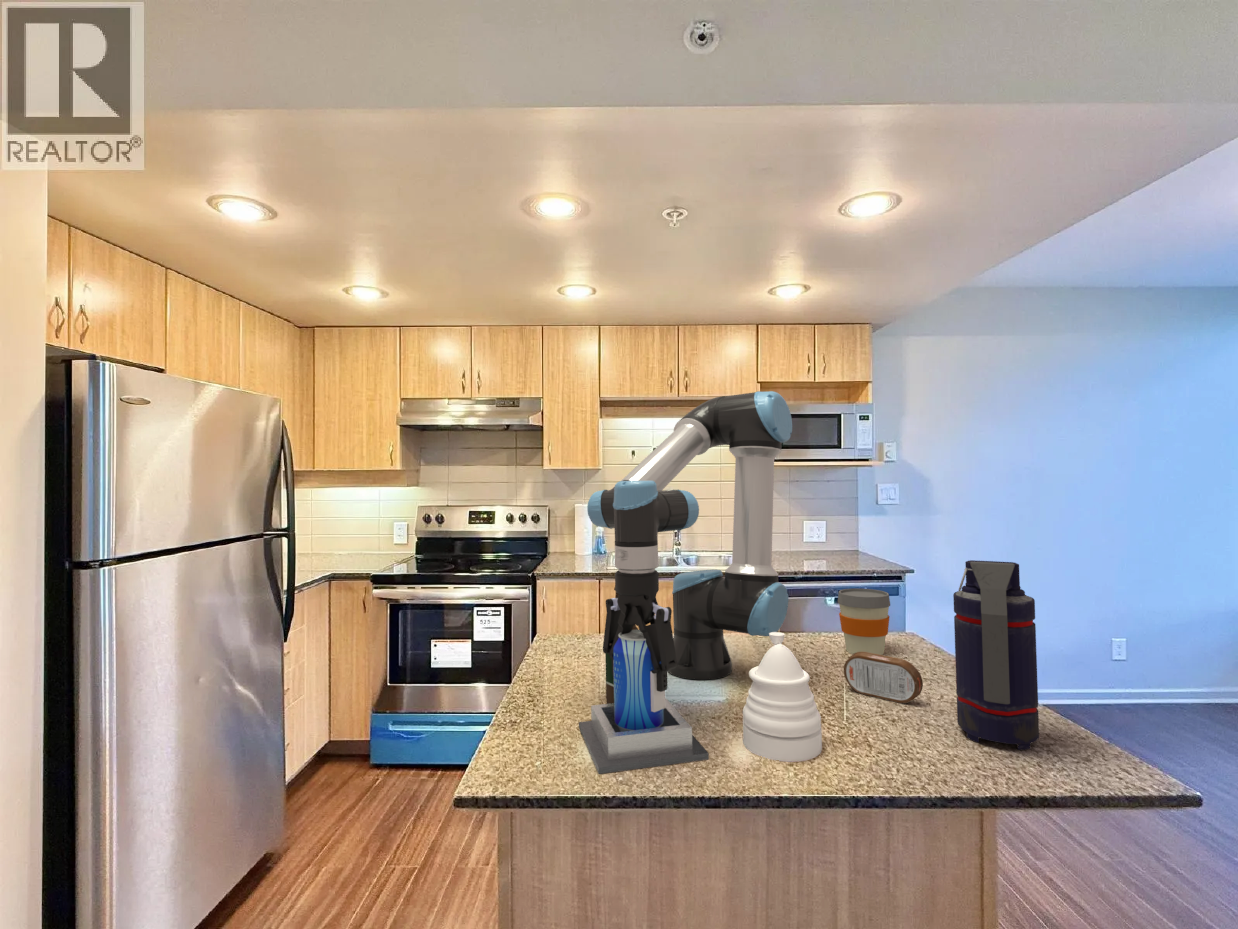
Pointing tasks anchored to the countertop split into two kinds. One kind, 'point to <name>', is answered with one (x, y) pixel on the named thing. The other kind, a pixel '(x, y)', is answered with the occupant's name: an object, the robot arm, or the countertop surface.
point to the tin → (883, 677)
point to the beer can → (633, 684)
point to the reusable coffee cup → (864, 619)
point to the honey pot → (781, 708)
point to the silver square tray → (639, 741)
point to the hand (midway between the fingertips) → (639, 702)
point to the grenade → (996, 655)
